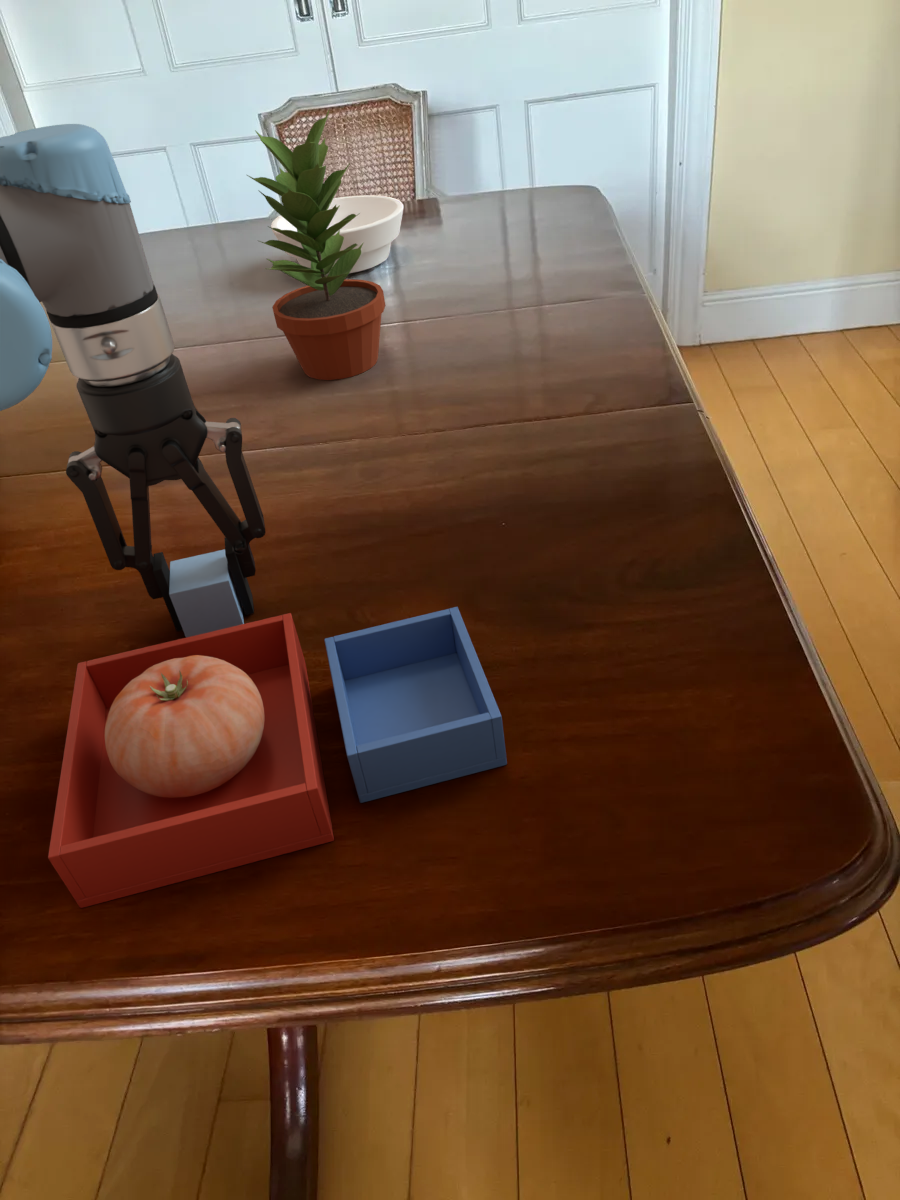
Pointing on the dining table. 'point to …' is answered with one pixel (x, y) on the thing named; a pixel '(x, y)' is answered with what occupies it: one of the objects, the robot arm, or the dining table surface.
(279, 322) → the potted plant
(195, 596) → the blue block
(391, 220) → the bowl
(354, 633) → the blue bin
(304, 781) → the red bin
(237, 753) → the tomato
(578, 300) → the dining table surface
